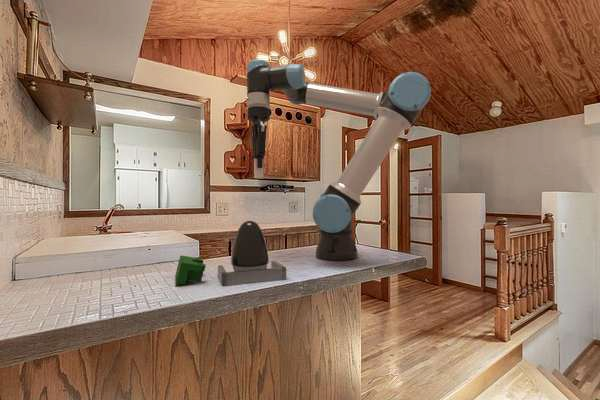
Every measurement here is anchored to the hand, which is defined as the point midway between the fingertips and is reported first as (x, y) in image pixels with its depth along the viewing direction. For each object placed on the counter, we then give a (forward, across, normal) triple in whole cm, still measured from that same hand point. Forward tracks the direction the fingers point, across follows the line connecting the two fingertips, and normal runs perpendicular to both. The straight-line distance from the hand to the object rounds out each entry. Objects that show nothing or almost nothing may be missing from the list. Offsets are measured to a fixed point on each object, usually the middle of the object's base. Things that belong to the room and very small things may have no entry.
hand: (259, 178), depth 101 cm
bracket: (+28, +20, -7) cm, 35 cm away
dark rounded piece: (+29, +17, -7) cm, 34 cm away
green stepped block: (+29, +15, -22) cm, 40 cm away
